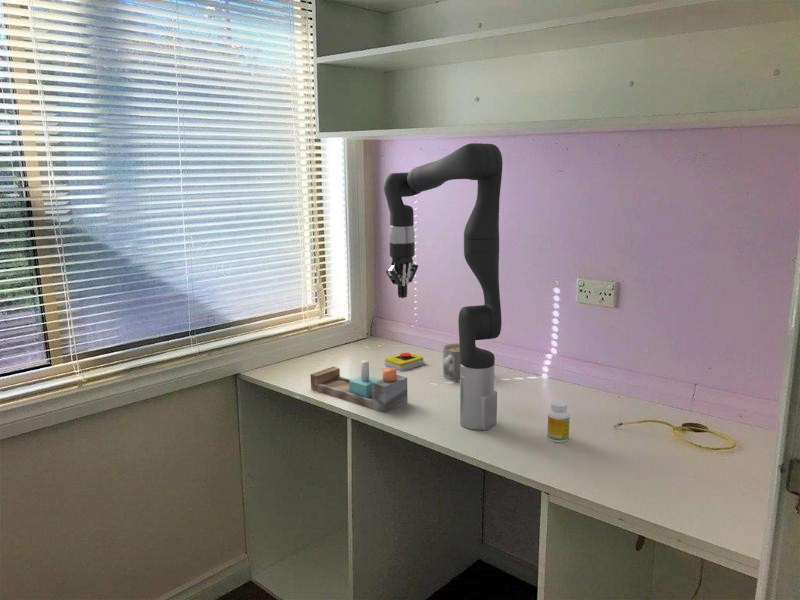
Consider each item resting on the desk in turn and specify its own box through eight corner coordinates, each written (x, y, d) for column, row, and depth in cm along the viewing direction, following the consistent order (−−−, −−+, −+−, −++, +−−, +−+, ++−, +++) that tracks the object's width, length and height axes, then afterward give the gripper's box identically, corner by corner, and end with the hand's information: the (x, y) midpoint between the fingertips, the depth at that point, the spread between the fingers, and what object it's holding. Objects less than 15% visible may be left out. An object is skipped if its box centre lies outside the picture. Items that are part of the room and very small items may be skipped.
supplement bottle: (565, 444, 168) (566, 408, 166) (544, 440, 170) (545, 405, 168) (571, 436, 172) (572, 401, 170) (550, 432, 175) (552, 398, 173)
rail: (407, 402, 198) (407, 377, 196) (385, 412, 190) (384, 386, 189) (333, 380, 218) (332, 357, 217) (311, 389, 211) (309, 365, 209)
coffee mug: (456, 369, 228) (456, 341, 226) (478, 375, 221) (479, 347, 219) (430, 378, 219) (429, 349, 217) (452, 385, 212) (452, 355, 210)
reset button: (399, 379, 194) (399, 369, 194) (390, 382, 191) (390, 372, 191) (389, 376, 197) (389, 366, 196) (380, 379, 194) (379, 370, 193)
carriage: (381, 392, 202) (381, 360, 200) (366, 398, 197) (365, 366, 195) (365, 387, 207) (364, 356, 204) (349, 393, 201) (348, 362, 199)
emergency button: (427, 353, 234) (396, 362, 225) (427, 364, 235) (396, 374, 226) (409, 348, 241) (378, 356, 231) (410, 359, 242) (379, 368, 232)
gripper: (406, 237, 204) (406, 292, 208) (377, 242, 194) (378, 299, 198) (425, 239, 199) (425, 295, 203) (397, 244, 189) (398, 303, 193)
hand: (402, 297), depth 200 cm, fingers closed
